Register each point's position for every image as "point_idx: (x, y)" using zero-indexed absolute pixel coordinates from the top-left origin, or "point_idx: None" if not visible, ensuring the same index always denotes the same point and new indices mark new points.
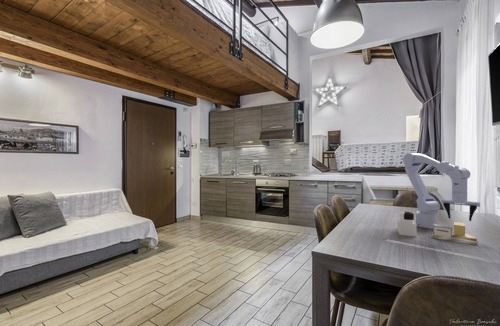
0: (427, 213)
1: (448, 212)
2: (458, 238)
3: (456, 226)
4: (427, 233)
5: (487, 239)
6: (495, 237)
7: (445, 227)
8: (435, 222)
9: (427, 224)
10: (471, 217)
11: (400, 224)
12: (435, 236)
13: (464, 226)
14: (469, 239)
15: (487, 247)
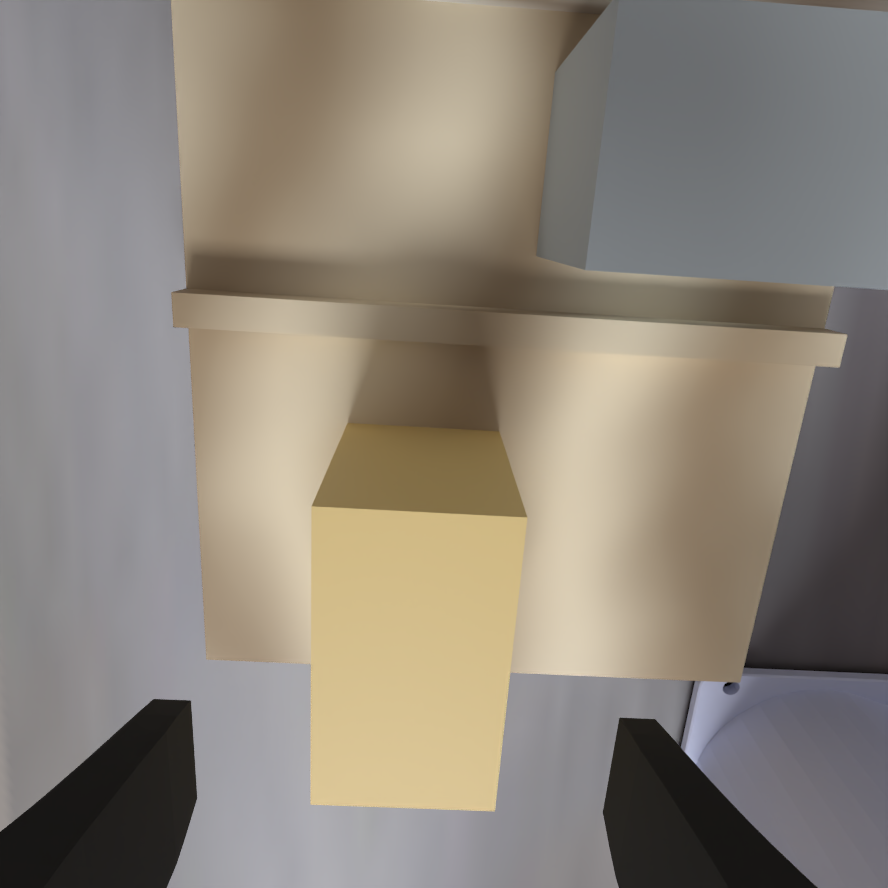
0: None
1: (751, 862)
2: (444, 269)
3: (475, 501)
4: (862, 436)
5: (83, 632)
6: (8, 802)
7: (773, 9)
8: (767, 836)
9: (877, 745)
10: (80, 766)
11: None
12: None
13: (322, 502)
14: (286, 293)
15: (57, 103)
